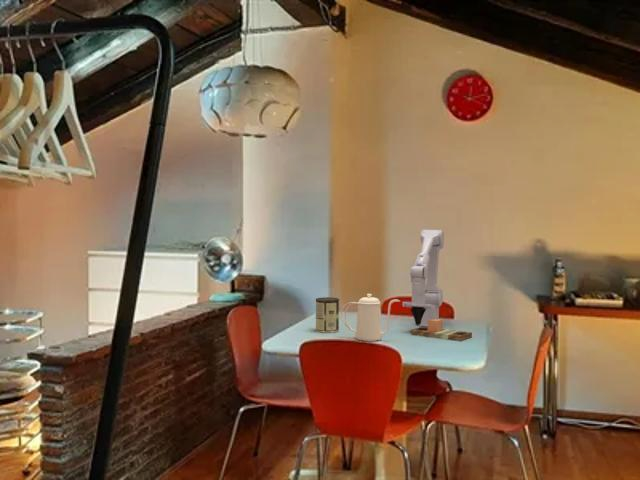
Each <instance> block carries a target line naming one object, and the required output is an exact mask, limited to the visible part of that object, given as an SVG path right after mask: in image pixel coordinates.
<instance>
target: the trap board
mask: <svg viewBox="0 0 640 480" xmlns="http://www.w3.org/2000/svg"><path fill="white" fill-rule="evenodd" d="M411 334H412V335H411ZM410 335H411V336H417V335H419V337H425V336H426V338H433V339H441V340H450V341H457V342H463V341H465V340H466V341H467V340H469V339H471V338H473V332H470V331H462V330H456V329H455V330H454V329H446V328H442V330H441V331H438V332H435V331H428V327H427V326H420V327H417V328H414V329H411V330H410Z"/></svg>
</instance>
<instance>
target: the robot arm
mask: <svg viewBox="0 0 640 480" xmlns="http://www.w3.org/2000/svg"><path fill="white" fill-rule="evenodd" d="M444 233H445V232H444V231H443V229H422V230H421V231H420V238H419V239H420V242H421V244H422V245H421V249H420V252H419V253H417V256H416V258H415V262H414V265H413V266H411V267H410V274H409V275H410V283H411V301H402V307H406V308H410V311H411V313H412V316H413V318H414V323H415V325H416V326H420V327H428V320H430V319H439V316H440V313H439V311H440V307H441V305H443V301H444V300H443V299H444V297H443V296H444V295H443V289H442V288H441V287H440V286H438V274H439V273H438V270H439V256H440V250H441V249H444V245H445V234H444ZM439 320H440V319H439Z"/></svg>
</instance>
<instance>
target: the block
mask: <svg viewBox="0 0 640 480" xmlns="http://www.w3.org/2000/svg"><path fill="white" fill-rule="evenodd" d="M442 329H443V319H430V320H428V331H435V332H438V331H441V330H442Z"/></svg>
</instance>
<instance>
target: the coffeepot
mask: <svg viewBox="0 0 640 480" xmlns="http://www.w3.org/2000/svg"><path fill="white" fill-rule="evenodd" d="M372 296H373V294H372V293H367V294H366V297H365V296H364V297H361V298H360V299H359V300H358V302H356V301H351V302H347V303H345V304H344V305H342V308H341V310H340V318H341V320H342V322H343V324H344V325H345V326H346V328H347V329H348V330H350V331H352V332H354V333H355V339H357V340H359V341H361V340H363V341H362V342H378V341H380V340H382V338H383V335H385V334H387V333H388V330H389V325H390V318H391V317H390V314H391V305H392V304H393V303H395V302H396V303H397V302H400V300H399V299H392V300H390V301H389V303H388V307H387V317H386V328H385V331H382V329H383V328H382V316H381V315H382V314H381V313H382V312H381V304H382V303H381V301H380V299H379V298H378V297H372ZM348 304H349V305H348ZM353 304H355V305H356V304H357V318H356V327H355V329H354V328H352V327H351V325H350V324H349V323H348V320H347V310H348V308H349V307H350V306H351V305H353ZM346 305H348V306H347V307H346V308H345V306H346ZM344 308H345V311H344V317H343V310H344ZM367 340H369V341H367ZM377 340H378V341H377Z"/></svg>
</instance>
